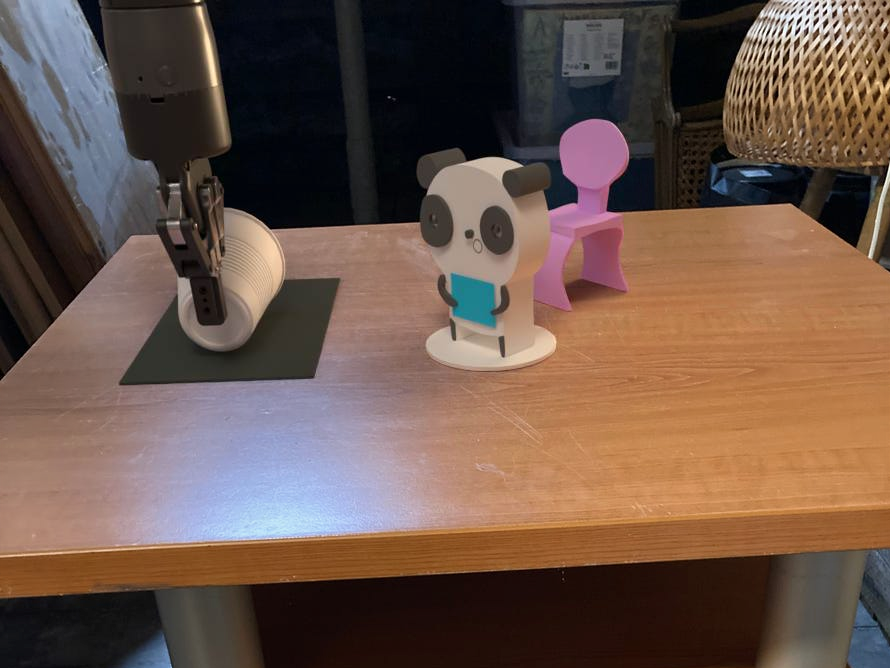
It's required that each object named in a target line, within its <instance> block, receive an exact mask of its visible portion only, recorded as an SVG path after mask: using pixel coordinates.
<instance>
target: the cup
mask: <svg viewBox="0 0 890 668" xmlns="http://www.w3.org/2000/svg"><path fill="white" fill-rule="evenodd" d="M224 237H225V248H226V252H225V256H224V257H221V260H222V261H223V267H222V272H219V273H221V279H222V284H223V290H224V296H225V301H226V307H227V312H228V316H227V318H226V320H225V322H224V323H223V324H222V325H217V326H202V325H200V324H199V323H198V321H197V317H196V312H195V307H194V302H193V296H192V291H191V286H190V281H189V279H186V278H179V276H178V274H177V273H176V274H177V275H176V277H177V294H178V314H179V320H180V323H181V326H182V328H183V330H184V331H185V333H186V334H187V335H188V336H189V338H190V339H191V340H193V341H194V342H195V343H196V344H198V345H200V346H201V347H204V348H206V349H209V350H213V351H221V352H224V351H231V350H234V349H237V348H239V347H240V346H242V345H243V344H244V343H245V342H246V341H247V340H248V339H249V337H250V336H251V334H252V333H253V331H254V329H255V327H256V325H257V324H258V322H259V320H260V318H261V317H262V315H263V313H264V311H265V310H266V308H267V306H268V305H269V303H270V301H271V300H272V299H273V298H274V297H275V296H276V295H277V293H278V292H279V290H280V289H281V286H282V284H283V281H284V280H285V276H286V274H285V273H286V260H285V255H284V251H283V248H282V246H281V245H280V242H279V240H278V238H277V237H276V236H275V235H274V233H273V231H272V230H271V229H270V227H268V226H267V225H266V224H265V223H264V222H263V221H261V220H259V219H258V218H257V217H255V216H253V215H252V214H249V213H247V212H246V211H243V210H240V209H236V208H232V207H224Z"/></svg>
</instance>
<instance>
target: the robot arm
mask: <svg viewBox="0 0 890 668" xmlns="http://www.w3.org/2000/svg"><path fill="white" fill-rule="evenodd" d="M205 1H206V0H98V3H99V6H100V7H101V8H100V14H101V19H102V30H103V39H104V47H105V48H104V49H105V53H106V59H107V63H108V67H109V71H110V77H111V80H112V85H113V91H114V94H115V99H116V104H117V108H118V113H119V117H120V122H121V127H122V132H123V135H124V141H125V145H126V150H127V152H128V153H129V155H130V156H131V157H133V158H134V159H136V160H139V161H142V162H148V161H149V162H153V163H154V164H155V165H156V166H157V169H158V171H157V173H158V182H159V185H156V187H155V195H156V200H157V204H158V209H159V210H160V211H161V213H162V214H163V215H164V218H157V219H156V221H155V229H156V232H157V235H158V237H159V238H160V241H161V243H162V245H163V248H164V249H165V251H166V254H167V255H168V257H169V259H170V261H171V264H172V266H173V268H174V270H175V272H176V274H178V276H179V278H186V279H189V281H190V286H191V291H192V296H193V302H194V307H195V312H196V317H197V321H198V323H199V324H200V325H202V326H217V325H222V324H223V323H224V322H225V320H226V318H227V316H228V312H227V307H226V301H225V296H224V290H223V284H222V279H221V273H219V272H222V267H223V261H222V260H221V257H224V256H225V252H226V248H225V237H224V208H225V207H224V206H225V205H224V194H225V189H224V187H223V185H222V183H221V182H220V181H219V178H218V176H216V175H214V176H212V175H213V173H212V167H211V165H210V161H209V158H213V157H218V156H220V155H222V154H225V153H226V152H228V151H230V149H231V148H232V144H233V140H232V134H231V129H230V122H229V121H230V120H229V115H228V110H227V103H226V96H225V90H224V83H223V78H222V71H221V65H220V59H219V54H218V47H217V42H216V37H215V33H214V29H213V26H212V23H211V19H210V15H209V12H208V7H207V3H206V2H205Z"/></svg>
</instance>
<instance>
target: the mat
mask: <svg viewBox="0 0 890 668" xmlns="http://www.w3.org/2000/svg"><path fill="white" fill-rule="evenodd" d="M340 280H341V277H327V278H326V277H323V278H321V277H319V278H296V279H295V278H294V279H293V278H291V279H288V278H287V279H284V281H283V284H282V286H281V289H280V290H279V292H278V293H277V295H276V296H275V297H274V298H273V299H272V300H271V301H270V303H269V305H268V306H267V308H266V310H265V311H264V313H263V315H262V317H261V318H260V320H259V322H258V324H257V325H256V327H255V329H254V331H253V333H252V334H251V336H250V337H249V339H248V340H247V341H246V342H245V343H244V344H243V345H242V346H240V347H239V348H237V349H234V350H231V351H224V352H221V351H213V350H209V349H206V348H204V347H201V346H200V345H198V344H196V343H195V342H194V341H193V340H191V339H190V338H189V336H188V335H187V334H186V333H185V331H184V330H183V328H182V326H181V323H180V320H179V314H178V293H177V294H176V295H175V296H174V298H173V299H172V301H171V303H170V304H169V305H168V307H167V309H166V310H165V312H164V313H163V315H161V318H160V319H159V321H158V322H157V324H156V325H155V327H154V329H153V330H151V331H152V332H150V334H149V336H148V338H147V339H146V340H145V342H144V344H143V345H142V346H141V348H140V350H139V351H138V353H137V354H136V355H135V357H134V359H133V360H132V362H131V364H130V365H129V366H128V368H127V369H126V371H125V373H124V374H123V375H122V377H121V378H120V380H119V382H118V385H120V386H123V385H124V386H125V385H150V384H155V385H156V384H180V383H182V384H183V383H208V382H209V383H210V382H211V383H212V382H237V381H238V382H239V381H241V382H242V381H266V380H267V381H269V380H295V379H296V380H298V379H314V378H315V375H316V371H317V367H318V364H319V361H320V356H321V352H322V349H323V345H324V341H325V337H326V333H327V329H328V326H329V322H330V318H331V314H332V311H333V307H334V304H335V299H336V295H337V293H338V292H337V291H338V288H339V286H340V285H339V284H340Z"/></svg>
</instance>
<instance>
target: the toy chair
mask: <svg viewBox="0 0 890 668" xmlns="http://www.w3.org/2000/svg"><path fill="white" fill-rule="evenodd" d="M558 150H559V159H560V164H561V168H562V174H563V175H564V176H565V177H566V178H567V179H568V180H569V181H570V182H571V183H573V184H574V185H575V186H576V187H577V195H578V196H577V203H575V202H572V203H568V204H565V205H562V206H559V207H556V208H554V209H550V210H548V213H549V220H550V245H549V250H548V254H547V257H546V259H545V261H544V263H543V265H542V267H541V268H540V269H539V271H538V272H536V273H535V274H534V301H536V302H540V303H543V304H546V305H548V306H551V307H555V308H558V309H561V310H564V311H567V312H572V311H573V307H572V306H571V303H570V301H569V297H568V295H567V293H566V289H565V285H564V277H563V276H564V268H565V265H566V262H567V260H568V257H569V256H570V254H571V252H572V249H573V247H574V245H575V243H576V242H578V240H581V245H582V250H583V253H582V254H583V256H582V257H583V258H582V265H581V271H580V279H582V280H585V281H589V282H592V283H596V284H598V285H603V286H605V287H608V288H612V289H615V290H619V291H622V292H629V291H630V289H629V286H628V283H627V281H626V278H625V275H624V272H623V268H622V264H621V249H622V248H621V247H622V243H623V239H624V236H625V235H624V234H625V228H624V225H623V218H624V217H623V214H621V213H617V212H612V211H607V207H608V200H609V193H610V186H611V185H612V184H613V183H614V181H615V180H617V179H619V178H620V177H621V176H622V175H623V174H624V172H625V171H626V170H627V167H628V166H629V161H630V151H629V146H628V144H627V141H626V139H625V136H624V135H623V134H622V132H621V131H620V129H619V128H618V127H617V125H616V124H614V123H613V122H612V121H609V120H606V119H601V118H592V119H586V120H582V121H580V122H578V123H575V124H574V125H572V126H571V127H569V128H567V129H566V131H564V132H563V134H562V136H561V138H560V140H559V149H558Z"/></svg>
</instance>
